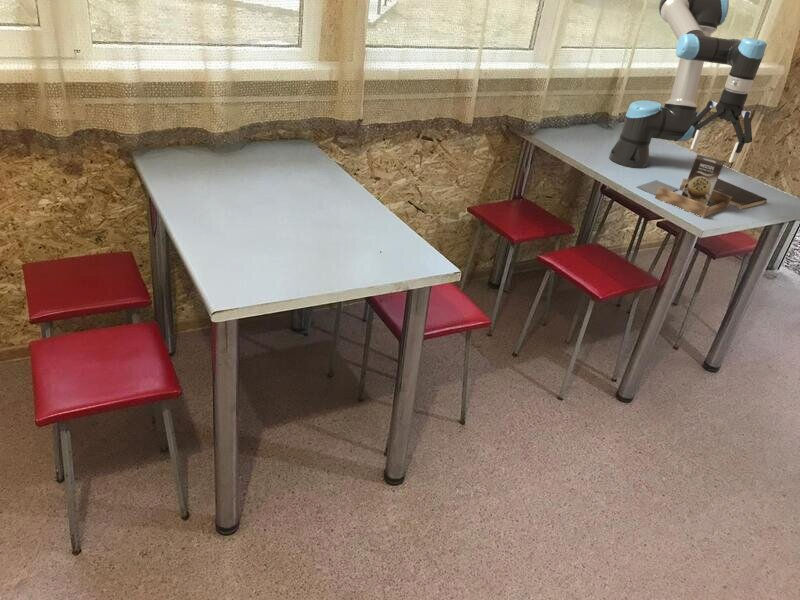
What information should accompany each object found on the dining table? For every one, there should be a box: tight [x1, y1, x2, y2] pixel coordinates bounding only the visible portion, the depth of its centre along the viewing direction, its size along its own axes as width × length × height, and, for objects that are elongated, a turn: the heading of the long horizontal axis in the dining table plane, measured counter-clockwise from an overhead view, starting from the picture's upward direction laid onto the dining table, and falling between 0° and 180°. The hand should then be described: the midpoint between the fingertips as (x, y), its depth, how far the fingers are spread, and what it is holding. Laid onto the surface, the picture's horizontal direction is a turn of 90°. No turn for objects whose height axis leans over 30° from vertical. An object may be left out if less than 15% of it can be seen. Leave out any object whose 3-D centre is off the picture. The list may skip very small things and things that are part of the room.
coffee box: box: [680, 154, 725, 206], centre depth 225 cm, size 9×6×16 cm
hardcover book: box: [714, 178, 768, 210], centre depth 241 cm, size 16×23×2 cm
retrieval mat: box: [635, 179, 679, 196], centre depth 237 cm, size 9×14×1 cm, turn 131°
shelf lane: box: [654, 178, 732, 218], centre depth 228 cm, size 18×19×4 cm
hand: (711, 155), depth 219 cm, fingers open, 13 cm apart
